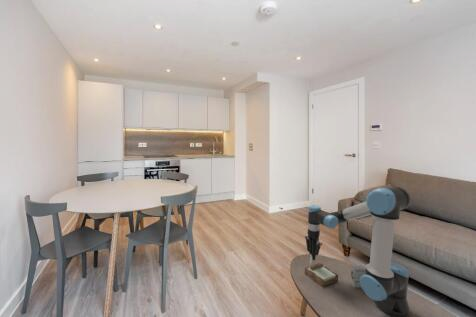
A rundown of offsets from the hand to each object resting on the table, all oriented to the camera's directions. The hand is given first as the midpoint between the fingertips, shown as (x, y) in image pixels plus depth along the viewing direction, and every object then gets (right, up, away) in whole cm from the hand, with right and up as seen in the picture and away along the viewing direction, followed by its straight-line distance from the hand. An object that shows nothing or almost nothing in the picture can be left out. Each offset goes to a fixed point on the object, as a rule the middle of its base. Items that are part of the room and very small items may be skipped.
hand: (312, 263), depth 147 cm
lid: (+4, -3, -7) cm, 9 cm away
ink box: (+24, -7, -14) cm, 28 cm away
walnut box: (+3, -6, -7) cm, 9 cm away
